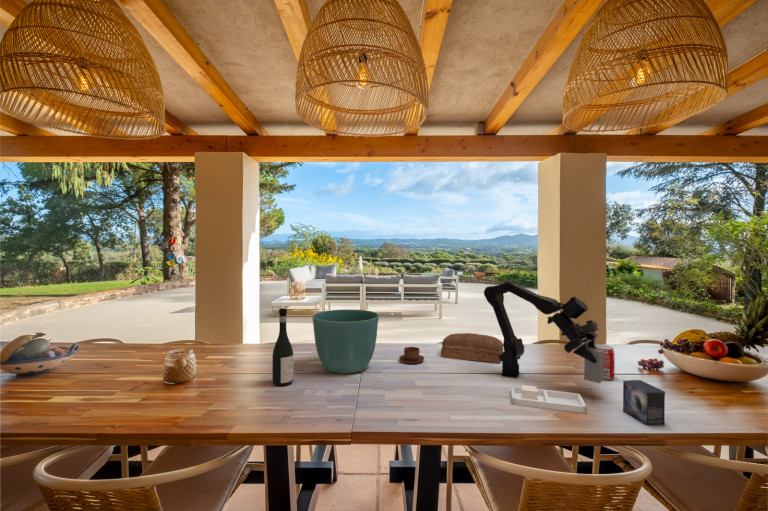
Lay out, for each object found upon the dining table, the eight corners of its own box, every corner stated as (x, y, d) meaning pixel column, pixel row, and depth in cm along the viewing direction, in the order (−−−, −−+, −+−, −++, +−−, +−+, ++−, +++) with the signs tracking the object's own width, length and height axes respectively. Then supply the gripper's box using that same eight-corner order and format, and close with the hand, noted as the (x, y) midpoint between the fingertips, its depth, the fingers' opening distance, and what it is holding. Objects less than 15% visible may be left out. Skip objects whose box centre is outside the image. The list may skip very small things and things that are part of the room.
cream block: (522, 401, 129) (522, 390, 129) (521, 396, 134) (521, 385, 134) (537, 403, 127) (537, 391, 127) (536, 397, 132) (536, 386, 132)
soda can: (617, 381, 152) (617, 349, 152) (598, 380, 153) (598, 348, 153) (610, 375, 159) (610, 345, 159) (592, 374, 160) (592, 344, 160)
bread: (501, 365, 174) (501, 340, 174) (439, 357, 185) (439, 335, 185) (504, 355, 189) (504, 333, 189) (447, 349, 201) (447, 328, 201)
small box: (621, 410, 124) (621, 379, 124) (639, 410, 125) (639, 379, 125) (646, 425, 114) (646, 391, 114) (665, 425, 114) (666, 391, 114)
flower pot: (363, 382, 149) (364, 323, 149) (299, 374, 159) (299, 318, 158) (387, 361, 178) (387, 311, 177) (331, 355, 187) (331, 308, 187)
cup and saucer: (395, 359, 181) (395, 347, 181) (416, 356, 186) (416, 344, 186) (406, 366, 170) (406, 353, 170) (428, 363, 175) (428, 350, 175)
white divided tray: (511, 407, 127) (511, 398, 127) (511, 394, 138) (511, 386, 138) (586, 416, 120) (587, 407, 120) (579, 402, 131) (579, 393, 131)
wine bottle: (297, 381, 150) (297, 308, 150) (284, 388, 143) (284, 310, 143) (281, 378, 154) (281, 306, 153) (268, 384, 146) (268, 309, 146)
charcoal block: (584, 379, 136) (584, 349, 136) (589, 376, 139) (589, 347, 139) (599, 383, 132) (599, 352, 132) (603, 379, 136) (604, 350, 135)
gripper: (573, 316, 132) (608, 353, 124) (592, 310, 145) (624, 344, 137) (551, 334, 138) (582, 371, 130) (570, 327, 150) (600, 360, 143)
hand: (598, 361), depth 135 cm, fingers closed on charcoal block, 5 cm apart
